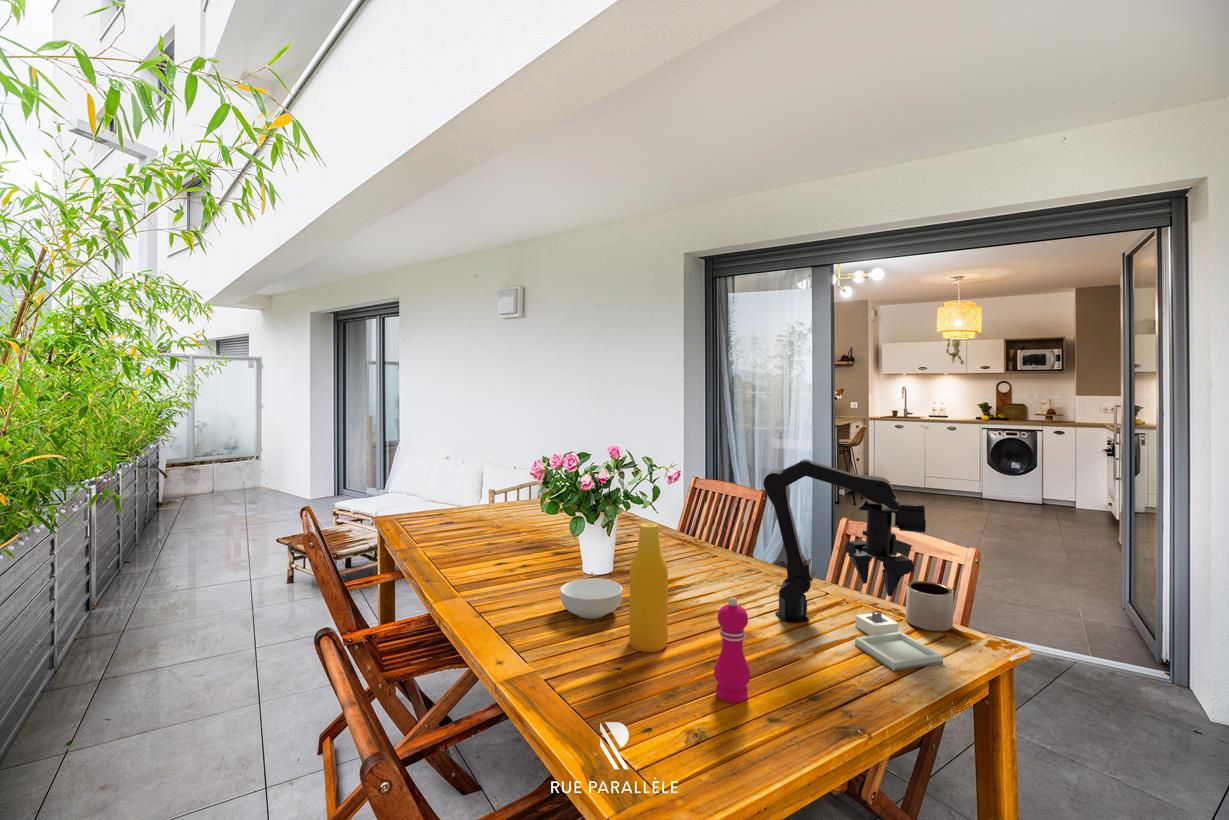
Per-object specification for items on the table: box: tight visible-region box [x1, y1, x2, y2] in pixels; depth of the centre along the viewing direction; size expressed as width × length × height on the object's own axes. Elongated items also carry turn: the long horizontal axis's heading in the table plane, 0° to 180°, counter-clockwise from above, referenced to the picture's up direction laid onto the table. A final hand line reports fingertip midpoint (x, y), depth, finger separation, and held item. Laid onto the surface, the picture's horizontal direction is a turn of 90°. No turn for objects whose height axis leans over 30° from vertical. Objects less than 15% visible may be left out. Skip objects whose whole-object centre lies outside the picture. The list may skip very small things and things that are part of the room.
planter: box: [905, 580, 954, 633], centre depth 153 cm, size 11×11×10 cm
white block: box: [855, 612, 899, 636], centre depth 149 cm, size 7×7×3 cm
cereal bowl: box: [559, 577, 624, 620], centre depth 161 cm, size 17×17×7 cm
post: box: [871, 611, 883, 623], centre depth 149 cm, size 2×2×4 cm
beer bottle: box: [628, 522, 669, 653], centre depth 141 cm, size 9×9×29 cm
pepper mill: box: [713, 596, 751, 704], centre depth 119 cm, size 7×7×20 cm
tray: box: [854, 631, 944, 672], centre depth 137 cm, size 13×13×2 cm
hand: (877, 589), depth 149 cm, fingers open, 9 cm apart
